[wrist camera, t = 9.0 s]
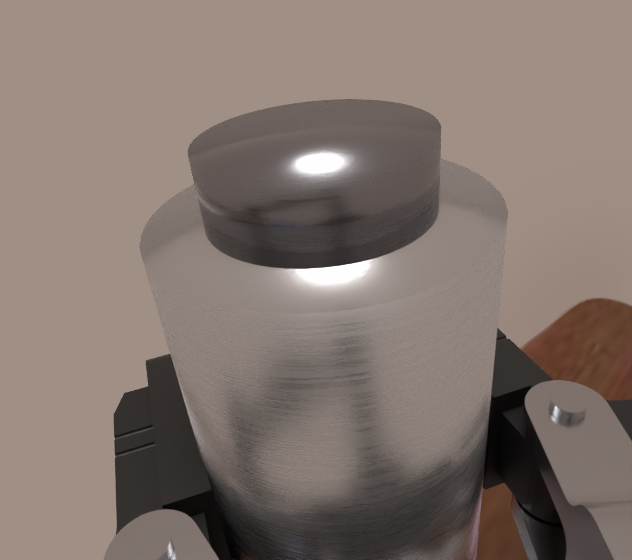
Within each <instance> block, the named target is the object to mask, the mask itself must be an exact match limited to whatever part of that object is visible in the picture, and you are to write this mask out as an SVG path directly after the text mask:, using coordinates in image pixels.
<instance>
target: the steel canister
mask: <svg viewBox="0 0 632 560" xmlns="http://www.w3.org/2000/svg"><path fill="white" fill-rule="evenodd" d="M440 150H441V125H440V123H439V121H438V120H437V119H436V118H435V117H434V116H433V115H431V114H430V113H428V112H426V111H424V110H422V109H419V108H416V107H413V106H409V105H404V104H400V103H394V102H387V101H378V100H358V99H345V100H323V101H311V102H303V103H295V104H289V105H282V106H277V107H272V108H267V109H263V110H258V111H255V112H251V113H247V114H244V115H241V116H238V117H235V118H232V119H229V120H227V121H224V122H222V123H219V124H217V125H215V126H213V127H211V128H209V129H208V130H206V131H205V132H203V133H202V134H200V135H199V136H198V137H196V138H195V139H194V140H193V142H192V143H191V144H190V146H189V149H188V157H189V161H190V166H191V171H192V175H193V180H194V185H192V186H190V187H188V188H186V189H185V190H183V191H182V192H180V193H178V194H177V195H175V196H174V197H172V198H171V199H170V200H168V201H167V202H166V203H165V204H164V205H162V206H161V207H160V208H159V209H158V210H157V211H156V212H155V213H154V214H153V215H152V217H151V218H150V220H149V221H148V223H147V224H146V226H145V228H144V230H143V233H142V236H141V242H140V250H141V255H142V259H143V262H144V266H145V269H146V273H147V276H148V279H149V283H150V286H151V290H152V293H153V296H154V300H155V303H156V307H157V310H158V313H159V317H160V320H161V324H162V327H163V330H164V334H165V337H166V341H167V344H168V347H169V351H170V354H171V358H172V361H173V364H174V368H175V371H176V375H177V378H178V381H179V385H180V388H181V392H182V395H183V398H184V402H185V405H186V408H187V412H188V415H189V419H190V422H191V425H192V429H193V432H194V436H195V439H196V442H197V446H198V449H199V453H200V456H201V458H202V460H203V462H204V465H205V467H206V469H207V472H208V475H209V478H210V482H211V485H212V489H213V492H214V496H215V499H216V502H217V506H218V509H219V513H220V516H221V520H222V523H223V527H224V530H225V533H226V537H227V540H228V544H229V547H230V551H231V554H232V557H233V560H476V552H477V542H478V531H479V520H480V509H481V498H482V488H483V477H484V466H485V455H486V445H487V434H488V423H489V412H490V402H491V391H492V380H493V369H494V359H495V348H496V337H497V326H498V316H499V305H500V294H501V283H502V272H503V262H504V251H505V250H504V249H505V239H506V230H507V218H508V211H507V207H506V203H505V201H504V199H503V197H502V195H501V194H500V192H499V191H498V190H497V189H496V188H495V187H494V186H493V185H492V184H491V183H490V182H489V181H487V180H486V179H485V178H483V177H482V176H480V175H478V174H477V173H475V172H473V171H471V170H469V169H467V168H465V167H462V166H460V165H458V164H455V163H452V162H449V161H446V160H443V159H440Z"/></svg>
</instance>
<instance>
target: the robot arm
mask: <svg viewBox="0 0 632 560" xmlns="http://www.w3.org/2000/svg"><path fill="white" fill-rule="evenodd" d="M146 369H147V378H148V387H145V388H141V389H138V390H134V391H130V392H127V393H124V395H123V397H122V399H121V401H120V403H119V405H118V407H117V409H116V411H115V413H114V436H115V455H116V458H115V474H116V507H117V508H116V509H117V532H116V536H115V537H114V539H113V540H112V542H111V543H110V545H109V547H108V549H107V551H106V554H105V557H104V560H233V557H232V554H231V551H230V547H229V544H228V540H227V537H226V533H225V530H224V527H223V523H222V520H221V516H220V513H219V509H218V506H217V502H216V499H215V496H214V492H213V489H212V485H211V482H210V478H209V475H208V472H207V469H206V467H205V465H204V462H203V460H202V458H201V456H200V453H199V449H198V446H197V442H196V439H195V436H194V432H193V429H192V425H191V422H190V419H189V415H188V412H187V408H186V405H185V402H184V398H183V395H182V392H181V388H180V385H179V381H178V378H177V375H176V371H175V368H174V364H173V361H172V358H171V354H168V355H164V356H161V357H157V358H153V359H149V360H146ZM502 483H505V484H506V485H507V486H508V488H509V489H510V490H511V492H512V499H511V509H512V513H513V516H514V519H515V522H516V524H517V527H518V530H519V533H520V536H521V539H522V542H523V545H524V548H525V550H526V553H527V556H528V559H529V560H632V400H616V401H606V400H605V399H604V398H603V397H602V396H601V395H599V394H598V393H597V392H595V391H594V390H592V389H590V388H588V387H586V386H583V385H581V384H578V383H574V382H570V381H562V380H553V379H552V378H550V377H549V376H548V375H547V374H546V373H545V372H544V371H543V370H542V369H541V368H540V367H539V366H538V365H537V364H535V363H534V362H533V361H532V360H531V359H530V358H529V357H528V356H527V355H526V354H525V353H524V352H523V351H522V350H521V349H519V348H518V347H517V346H516V345H515V344H514V343H513V342H512V341H511V340H510V339H507V338H506V335H504V334H503V333H502V332H501V331H500V330H499V329H498V328H497V337H496V348H495V359H494V369H493V380H492V391H491V402H490V412H489V423H488V434H487V445H486V455H485V466H484V477H483V487H484V489H488V488H491V487H493V486H496V485H499V484H502Z"/></svg>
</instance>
